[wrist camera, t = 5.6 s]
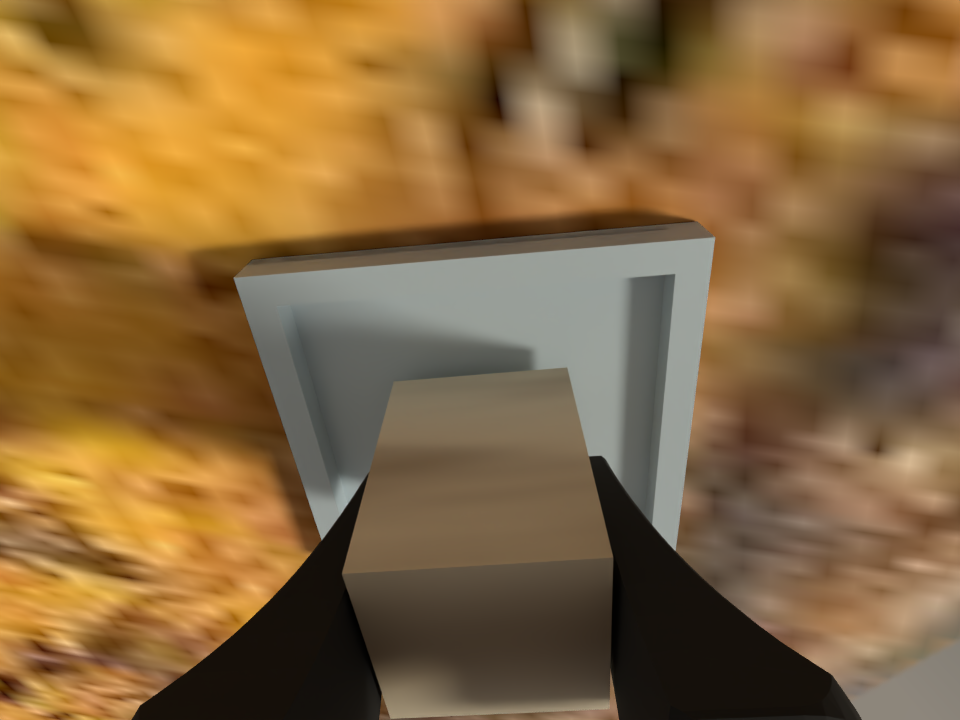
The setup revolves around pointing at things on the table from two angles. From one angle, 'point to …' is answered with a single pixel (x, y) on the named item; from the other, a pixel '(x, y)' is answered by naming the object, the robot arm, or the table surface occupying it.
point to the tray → (489, 344)
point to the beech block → (483, 551)
